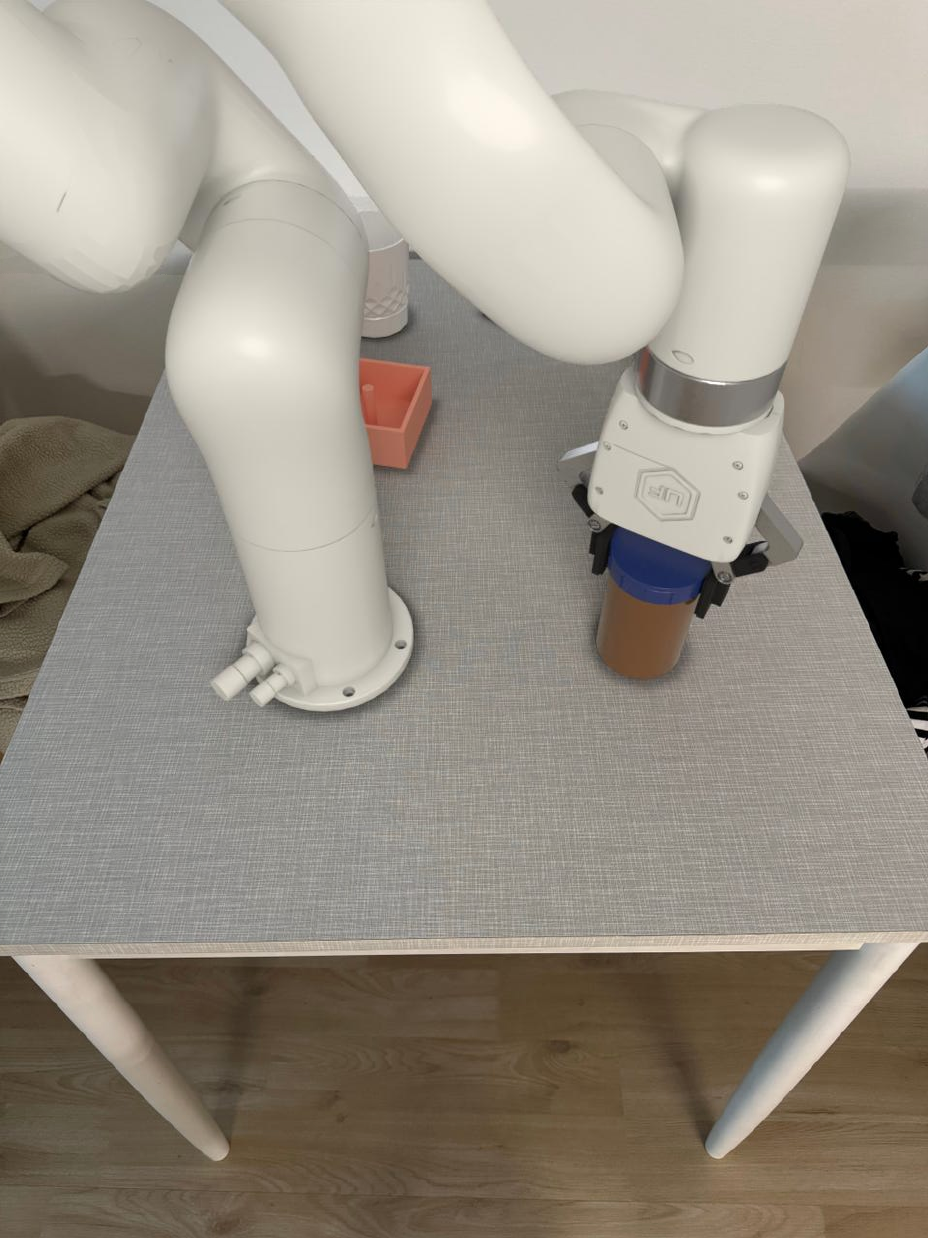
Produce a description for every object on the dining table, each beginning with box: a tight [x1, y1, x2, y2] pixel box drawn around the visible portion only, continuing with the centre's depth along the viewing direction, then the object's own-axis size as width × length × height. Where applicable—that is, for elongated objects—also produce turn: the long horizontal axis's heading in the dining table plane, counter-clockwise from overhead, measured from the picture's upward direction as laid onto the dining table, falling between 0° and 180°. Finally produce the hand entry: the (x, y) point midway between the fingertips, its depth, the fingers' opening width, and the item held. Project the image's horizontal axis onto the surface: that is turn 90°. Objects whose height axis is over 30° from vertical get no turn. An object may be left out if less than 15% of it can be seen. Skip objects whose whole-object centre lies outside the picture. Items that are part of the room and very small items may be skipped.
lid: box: [606, 526, 712, 605], centre depth 59 cm, size 7×7×2 cm
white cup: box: [357, 209, 410, 339], centre depth 89 cm, size 8×8×10 cm
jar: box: [595, 571, 700, 680], centre depth 63 cm, size 6×6×10 cm
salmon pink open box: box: [359, 357, 433, 470], centre depth 79 cm, size 18×10×10 cm, turn 77°
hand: (654, 581), depth 61 cm, fingers closed on lid, 7 cm apart
